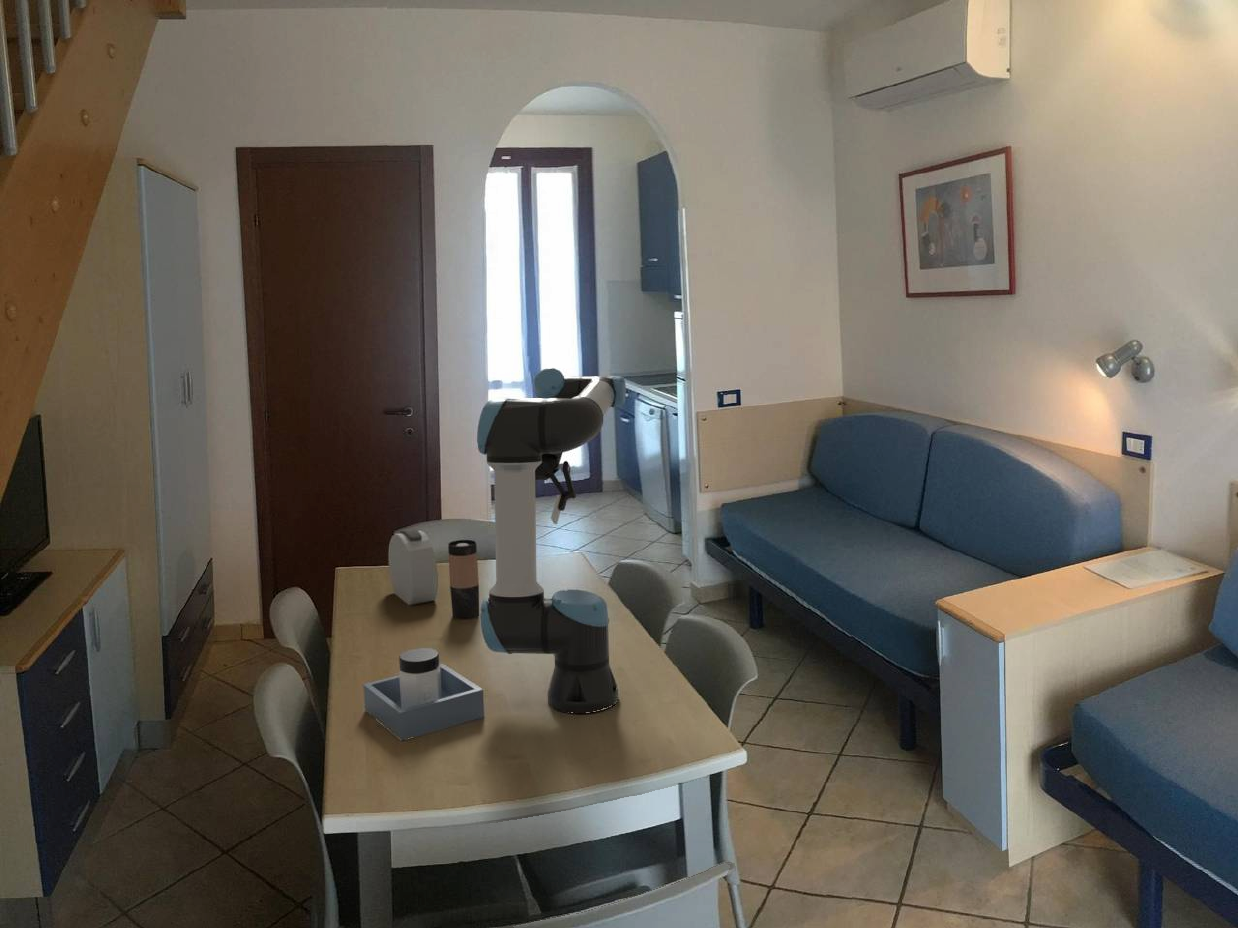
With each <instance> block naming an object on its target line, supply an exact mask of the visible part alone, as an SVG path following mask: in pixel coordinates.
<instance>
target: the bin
mask: <svg viewBox="0 0 1238 928" xmlns="http://www.w3.org/2000/svg"><path fill="white" fill-rule="evenodd" d="M440 671H441V688H442V699H438V700H435V701H431V702H428V703H424V704H421V705H417V706H413V707H410V708H406V709H402V708H401V695H400V680H399V674H398V675H394V676H391V677H387V678H383V679H379V680H375V681H371V682H369V683H363V696H364V697H363V698H364V711H365V710H366V711H368V713H370V714H371V715H372V716H373V717H374V718H375V719H377V720H378V721H379V722H380V723H382V724H383V725H384V726H385V727H386V728H388V729H389V730H390V731H391V732H392V733H393V734H395V735H396V736H397V737H399V738H400V739H401V740H405V739H408V738H411V737H416V738H418V737H422V736H425V734H426V735H428V733H429V734H432V733H435V732H439V731H442V730H445V729H448V728H452V727H455V726H458V725H462V724H465V723H468V722H472V721H475V720H477V719H478V720H479V719H481V718H485V705H484V704H485V701H484V689H483V688H481V687H480V686H478V685H477V684H475V683H474V682H472V681H471V680H469V679H467V678H465V677H464V676H463V675H462V674H459V673H458V672H457V671H456V670H455V671H454V670H453V669H452V668H450V667H448V666H447V665H445V663H440ZM366 711H365V712H366ZM368 713H367V714H368ZM372 716H371V717H372ZM373 717H372V718H373ZM374 718H373V719H374ZM375 719H374V720H375ZM378 721H377V722H378ZM379 722H378V723H379ZM380 723H379V724H380ZM384 726H383V727H384ZM385 727H384V728H385ZM386 728H385V729H386ZM390 731H389V732H390ZM391 732H390V733H391ZM431 732H432V733H431ZM392 733H391V734H392ZM393 734H392V735H393ZM421 735H422V736H421ZM396 736H395V737H396ZM417 736H418V737H417ZM397 737H396V738H397Z"/></svg>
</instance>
